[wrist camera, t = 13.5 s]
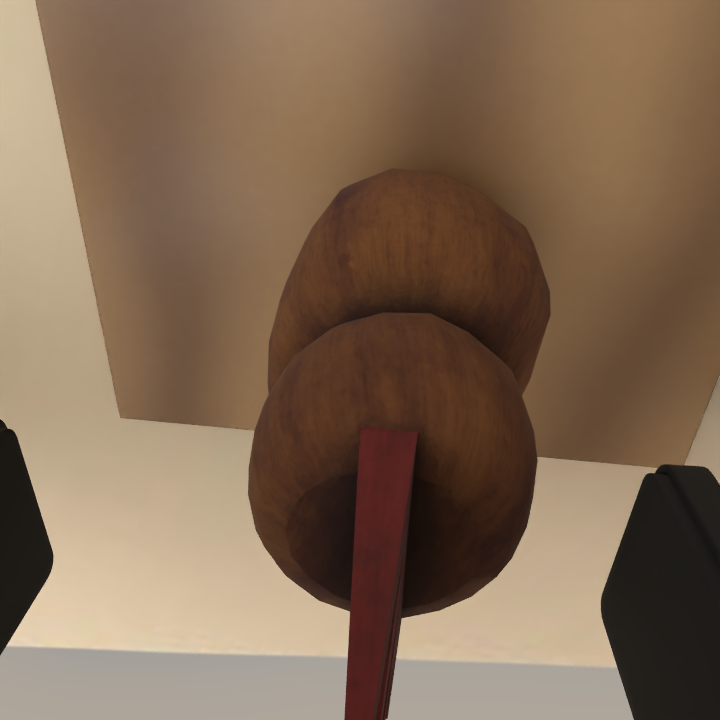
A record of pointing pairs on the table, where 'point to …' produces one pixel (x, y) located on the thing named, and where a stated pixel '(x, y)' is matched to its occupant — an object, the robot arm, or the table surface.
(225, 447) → the table surface
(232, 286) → the brown wooden board
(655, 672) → the robot arm
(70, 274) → the table surface
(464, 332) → the wooden figurine
